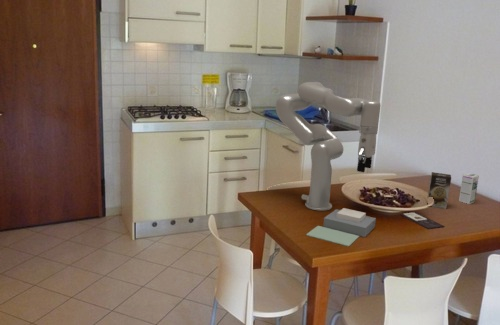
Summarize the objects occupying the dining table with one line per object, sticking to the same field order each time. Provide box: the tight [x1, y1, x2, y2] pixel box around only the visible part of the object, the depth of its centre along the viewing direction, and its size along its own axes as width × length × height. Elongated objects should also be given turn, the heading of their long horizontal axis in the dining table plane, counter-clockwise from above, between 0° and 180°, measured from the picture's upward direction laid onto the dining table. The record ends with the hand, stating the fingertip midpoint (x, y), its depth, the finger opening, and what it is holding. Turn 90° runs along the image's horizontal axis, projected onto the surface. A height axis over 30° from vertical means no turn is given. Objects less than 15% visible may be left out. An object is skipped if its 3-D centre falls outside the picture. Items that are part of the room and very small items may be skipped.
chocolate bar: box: [400, 211, 445, 230], centre depth 217 cm, size 9×1×18 cm
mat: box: [305, 225, 360, 248], centre depth 195 cm, size 18×12×1 cm, turn 59°
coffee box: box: [427, 171, 452, 210], centre depth 237 cm, size 9×6×16 cm
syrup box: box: [458, 172, 480, 205], centre depth 246 cm, size 6×6×14 cm
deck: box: [322, 208, 377, 238], centre depth 205 cm, size 18×14×4 cm
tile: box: [337, 207, 367, 223], centre depth 205 cm, size 10×8×2 cm
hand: (363, 169), depth 210 cm, fingers open, 7 cm apart
